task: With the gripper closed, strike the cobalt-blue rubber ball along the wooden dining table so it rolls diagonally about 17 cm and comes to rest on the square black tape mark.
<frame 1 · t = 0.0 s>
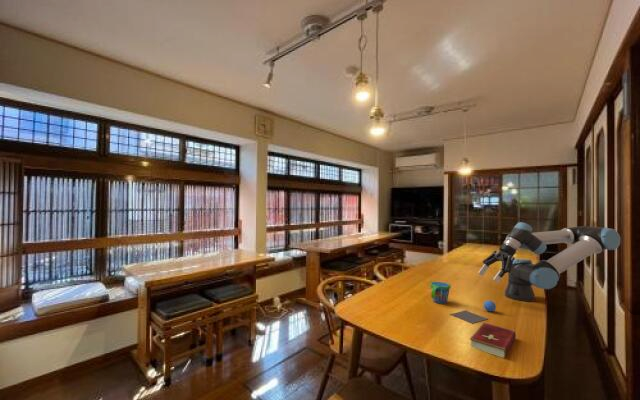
hand: (487, 277, 158), 15 cm above the table, tool tilted 35°, fingers open, 13 cm apart
hardcover book: (493, 344, 116), on the table
snack cup: (439, 302, 163), on the table
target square: (468, 316, 142), on the table
ball: (489, 306, 149), on the table
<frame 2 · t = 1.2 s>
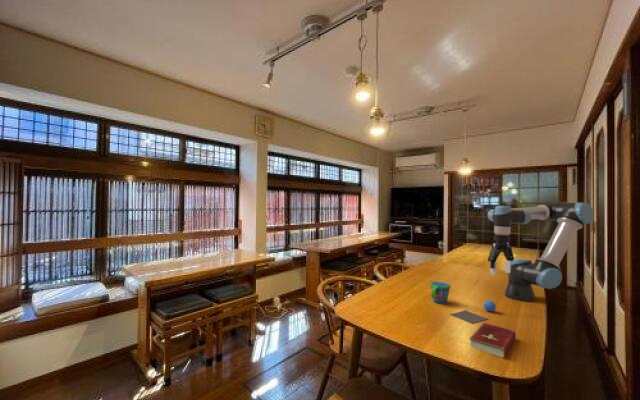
hand: (500, 273, 154), 19 cm above the table, tool pointing down, fingers open, 13 cm apart
nothing on the table moved.
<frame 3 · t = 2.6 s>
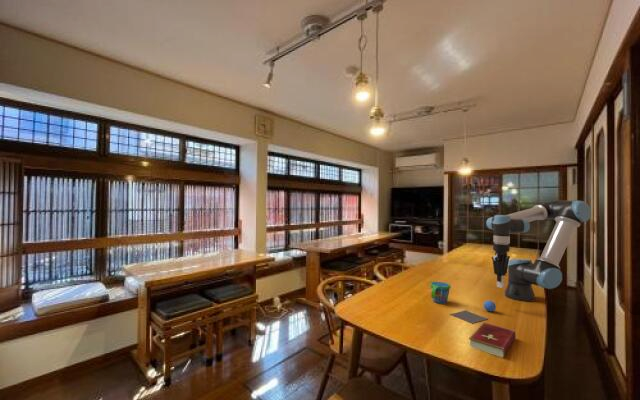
hand: (500, 287, 154), 11 cm above the table, tool pointing down, fingers closed
nothing on the table moved.
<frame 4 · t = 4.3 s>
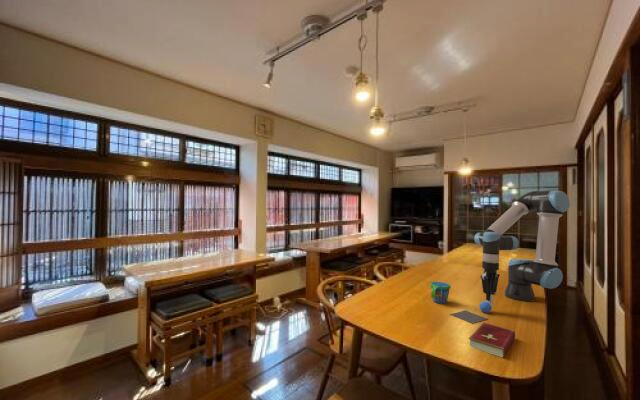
hand: (489, 306, 149), 3 cm above the table, tool pointing down, fingers closed
ball: (485, 307, 148), on the table
everything else where it was.
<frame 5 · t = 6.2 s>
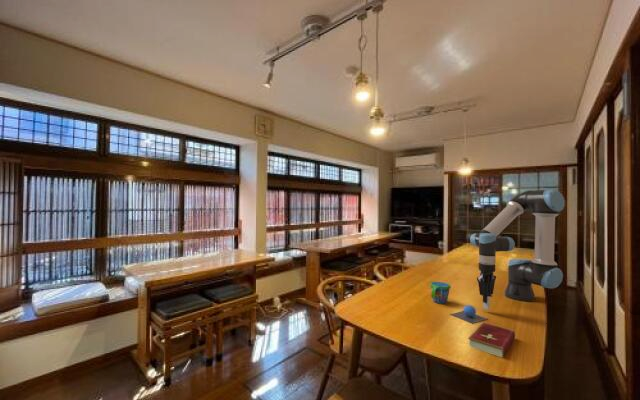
hand: (486, 308, 148), 2 cm above the table, tool pointing down, fingers closed
ball: (469, 311, 142), on the table
everything else where it was.
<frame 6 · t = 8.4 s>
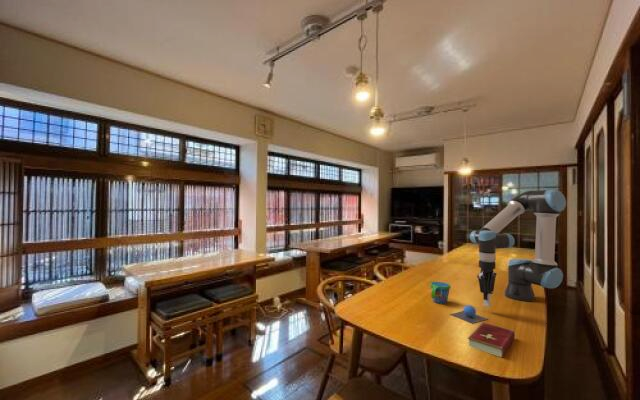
hand: (486, 305, 148), 3 cm above the table, tool pointing down, fingers closed
nothing on the table moved.
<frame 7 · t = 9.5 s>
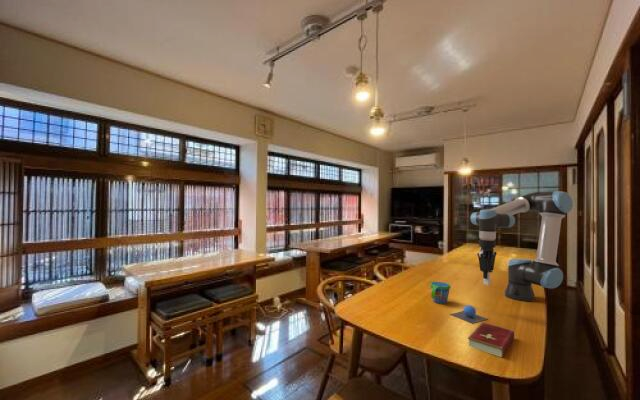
hand: (486, 284, 148), 14 cm above the table, tool pointing down, fingers closed
nothing on the table moved.
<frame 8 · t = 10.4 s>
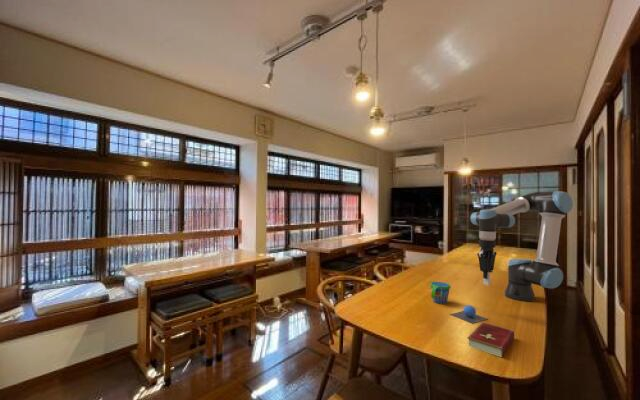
hand: (486, 284, 148), 14 cm above the table, tool pointing down, fingers closed
nothing on the table moved.
at the end: ball 0.7 cm from the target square (horizontally); ball at rest at the end (0.0 cm/s); ball moved 16.3 cm from its start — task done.
